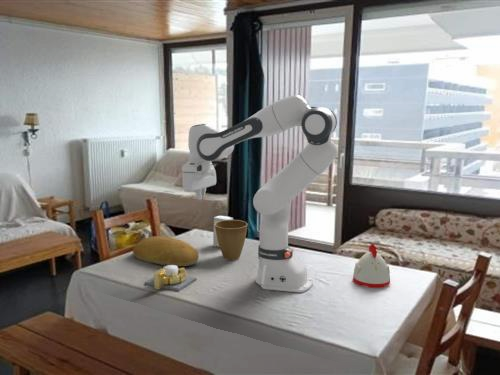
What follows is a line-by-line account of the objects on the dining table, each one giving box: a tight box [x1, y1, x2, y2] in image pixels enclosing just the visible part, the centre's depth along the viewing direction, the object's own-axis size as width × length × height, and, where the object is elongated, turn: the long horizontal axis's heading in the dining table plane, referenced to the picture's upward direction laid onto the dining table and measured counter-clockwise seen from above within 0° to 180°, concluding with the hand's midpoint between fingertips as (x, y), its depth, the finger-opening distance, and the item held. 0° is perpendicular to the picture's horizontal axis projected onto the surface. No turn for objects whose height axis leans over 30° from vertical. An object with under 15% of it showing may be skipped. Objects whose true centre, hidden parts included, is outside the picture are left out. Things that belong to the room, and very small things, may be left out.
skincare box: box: [212, 215, 234, 248], centre depth 211 cm, size 8×6×15 cm
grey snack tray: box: [144, 265, 198, 292], centre depth 165 cm, size 16×12×6 cm
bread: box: [132, 235, 199, 268], centre depth 192 cm, size 18×35×10 cm, turn 58°
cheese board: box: [153, 267, 187, 290], centre depth 163 cm, size 16×11×6 cm
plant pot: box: [215, 219, 248, 261], centre depth 193 cm, size 15×15×16 cm
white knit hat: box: [352, 243, 391, 289], centre depth 165 cm, size 14×14×15 cm
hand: (201, 199), depth 171 cm, fingers closed
